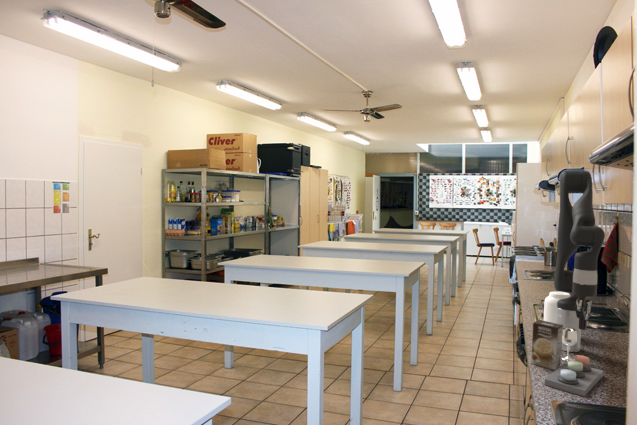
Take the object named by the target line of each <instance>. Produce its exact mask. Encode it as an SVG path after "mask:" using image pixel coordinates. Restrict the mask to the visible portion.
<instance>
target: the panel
mask: <svg viewBox="0 0 637 426" xmlns="http://www.w3.org/2000/svg"><path fill="white" fill-rule="evenodd" d="M562 369H567V370H571V369H569V368H568V361H566V362H564V363H563V364H561V366H560V367H559V368H558V369H556V370H553V372H552V373H550V374H549V375H548V376H546V377H545V378H544V385H545V386H548V387H551V388H554V389H557V390H560V391H564V392H567V393H568V392H569V393H572V394H575V395H578V396H582V397H586V396H587V395H588V393H589V392H590V391H592V389H593V388H594V387H595V385H597V383H599V382H600V380H601V379H602V378H603V377H604V370H602V369H598V368H595V367H591V366H589V365H583V371H574V370H572V371H574V372H576V380H574V381H570V380H565V379H563V378H561V377H560V372H561V370H562Z"/></svg>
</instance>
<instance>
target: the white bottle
mask: <svg viewBox="0 0 637 426" xmlns="http://www.w3.org/2000/svg"><path fill="white" fill-rule="evenodd" d="M570 296H571V293H569V292H560V291H557V290H554V291H550V292H549V293H548V295H547V296H546V297H545V299H544V304H543V321H547V322H552V323H556V320H557V302H558V300H560V299H565V298H568V297H570Z"/></svg>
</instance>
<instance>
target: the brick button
mask: <svg viewBox="0 0 637 426" xmlns="http://www.w3.org/2000/svg"><path fill="white" fill-rule="evenodd" d="M573 359H574V361H578V362H581V363H583V365H587V366H589V365H590V358H589V357H588V356H585V355H583V354H582V355H581V354H580V355H579V354H576V355H574V358H573Z"/></svg>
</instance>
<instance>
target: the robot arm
mask: <svg viewBox="0 0 637 426" xmlns="http://www.w3.org/2000/svg"><path fill="white" fill-rule="evenodd" d="M593 193H594V192H593V177H592V174H591V173H590V171H587V170H563V171H562V172H561V174H560V178H559V216H558V225H557V244H556V245H557V248H556V262H555V270H554V277H553V279H554V280H553V286H554V290H555V291H560V292H566V293H569V294H571V293H572V295H570V297H568V298H565V299H560V300H558V302H557V320H556V324H560V325H563V328H572V329H575V330H576V333H577V342H576V344H575V345H572V346H569V347H570V349H569V353H577V352H580V351H581V339H582V336H581V335H582V331H583V330H584V331H586V329H587V327H588V319H589V317H590V314H591V310H592V305H593V301H592V300H591V297H593V298H594V297H596V296H597V294H598V291H597V290H598V258H599V255H600V251H601V248H602V246H603V244H604V241H605V237H606V235H605V234H606V233H605V231H604V230H603V228H602V227H599V226H595V224H596V216H595V211H594V206H593V204H594V203H593V198H594V197H593V196H594V195H593ZM570 194H582V195H580V197H579V198H578V199H577V200H576V201H575V202H574V204H573V205H572V202H571V200H570V196H569V195H570ZM580 246H583V247H590V248H589V249H588V250H586V251H579V252H576V251H577V250H578V249H579V248H580ZM575 252H576V253H575ZM574 253H575V255H574ZM573 255H574V266H573V270H570V269H569V270H567V269H565V268H566V265H567V263H568V261H569V260H570V258H571V257H572V256H573ZM562 351H565V352H567V345H565V344H564V343H562Z"/></svg>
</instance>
